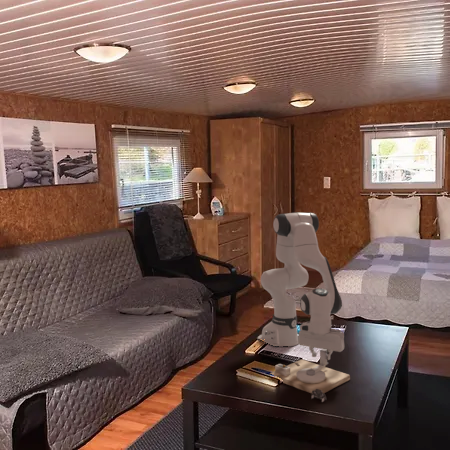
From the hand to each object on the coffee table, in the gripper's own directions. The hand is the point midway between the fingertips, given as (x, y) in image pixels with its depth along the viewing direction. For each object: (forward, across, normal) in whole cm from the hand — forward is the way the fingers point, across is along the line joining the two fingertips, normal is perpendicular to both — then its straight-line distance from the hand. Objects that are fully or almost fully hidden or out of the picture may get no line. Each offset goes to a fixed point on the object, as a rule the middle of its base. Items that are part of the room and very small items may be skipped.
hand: (321, 357), depth 227 cm
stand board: (+8, +3, +6) cm, 10 cm away
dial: (+5, 0, +6) cm, 8 cm away
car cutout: (+9, -12, +23) cm, 27 cm away
